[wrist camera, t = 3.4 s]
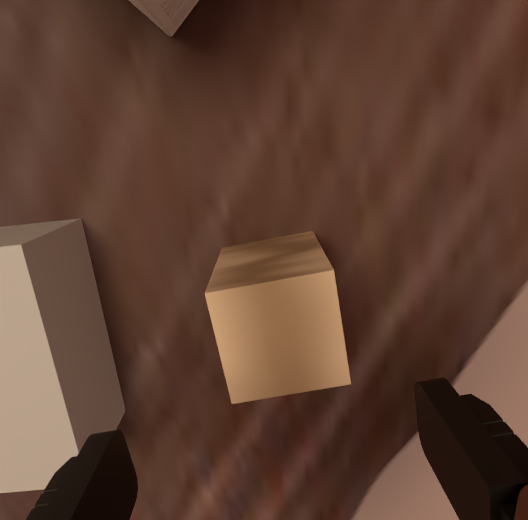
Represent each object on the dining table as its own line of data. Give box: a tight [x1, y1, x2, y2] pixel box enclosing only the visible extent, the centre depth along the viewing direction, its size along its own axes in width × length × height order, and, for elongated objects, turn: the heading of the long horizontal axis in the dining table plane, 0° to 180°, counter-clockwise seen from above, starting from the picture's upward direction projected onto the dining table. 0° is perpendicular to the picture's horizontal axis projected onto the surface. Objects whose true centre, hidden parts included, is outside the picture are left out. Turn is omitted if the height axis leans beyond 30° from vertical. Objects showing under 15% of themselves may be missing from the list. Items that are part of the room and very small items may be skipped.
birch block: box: [205, 231, 351, 404], centre depth 20 cm, size 5×5×7 cm
